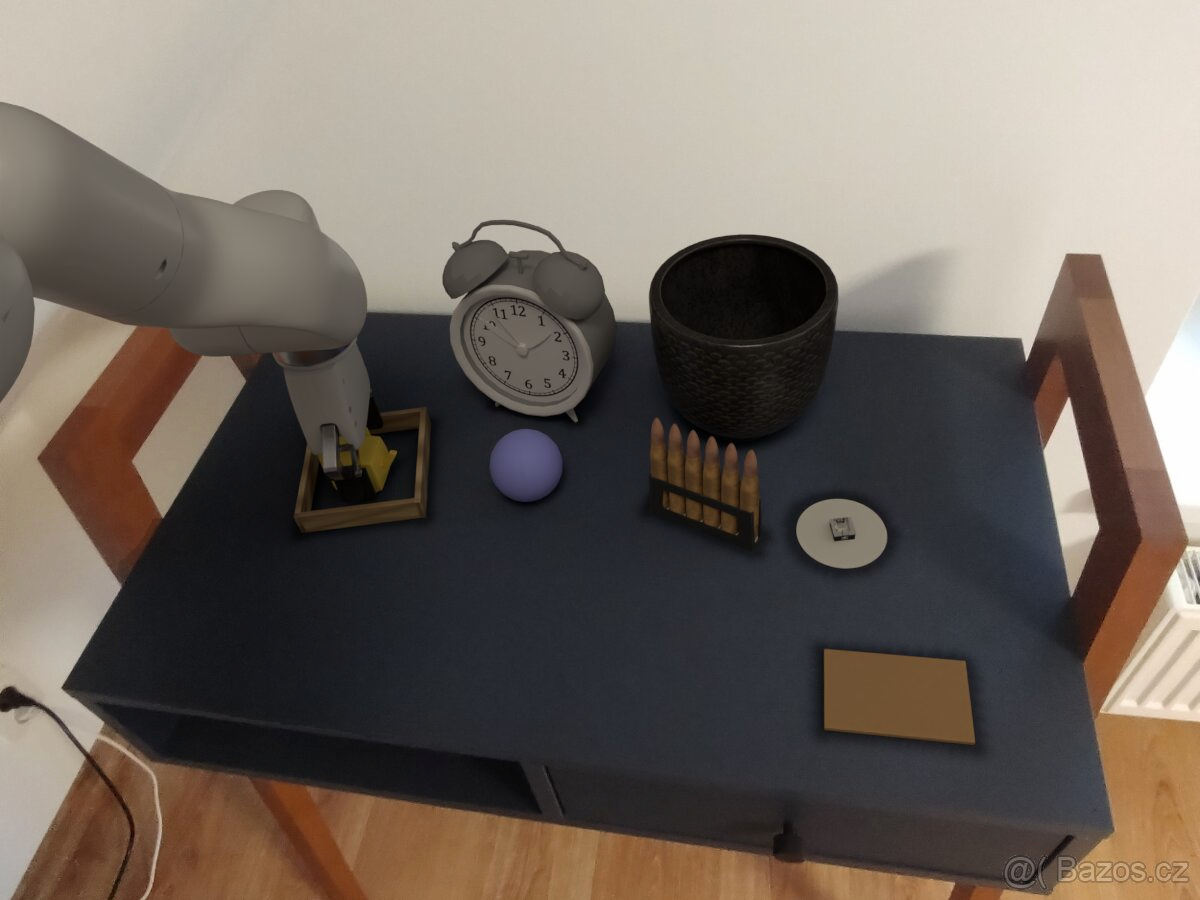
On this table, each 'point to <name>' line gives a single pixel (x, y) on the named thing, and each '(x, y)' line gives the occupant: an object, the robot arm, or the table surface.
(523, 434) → the sphere
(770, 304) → the planter
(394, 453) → the teapot
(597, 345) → the alarm clock
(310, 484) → the wooden frame
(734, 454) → the ammunition clip
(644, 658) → the table surface
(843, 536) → the white round disc
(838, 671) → the cork mat
